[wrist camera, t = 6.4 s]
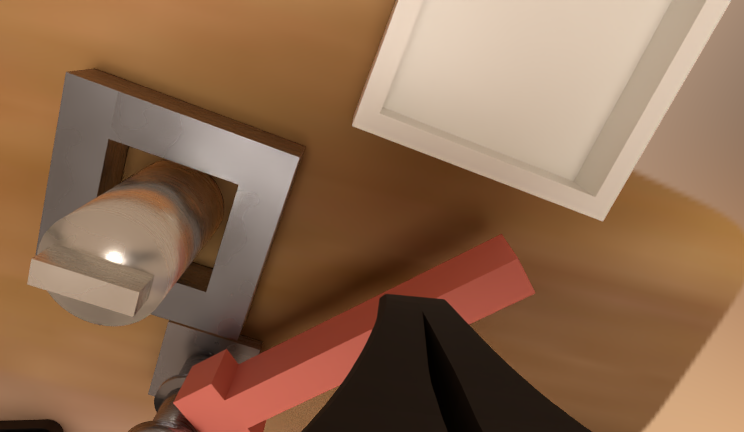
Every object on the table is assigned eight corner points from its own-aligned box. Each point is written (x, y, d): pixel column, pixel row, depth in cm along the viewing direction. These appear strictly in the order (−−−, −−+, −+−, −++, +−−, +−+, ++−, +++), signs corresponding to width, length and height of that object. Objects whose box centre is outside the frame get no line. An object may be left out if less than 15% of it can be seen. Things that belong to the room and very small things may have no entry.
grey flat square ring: (305, 146, 19) (299, 157, 17) (247, 316, 21) (237, 340, 20) (94, 68, 18) (65, 72, 16) (59, 257, 20) (31, 277, 19)
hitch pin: (234, 178, 19) (166, 252, 13) (210, 256, 20) (136, 361, 14) (142, 146, 19) (23, 205, 12) (124, 228, 20) (4, 322, 13)
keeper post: (262, 342, 22) (229, 441, 17) (238, 410, 23) (199, 522, 18) (173, 314, 21) (109, 407, 16) (153, 385, 23) (87, 494, 17)
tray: (710, -48, 17) (766, -61, 14) (574, 199, 20) (602, 221, 17) (458, -169, 16) (473, -205, 13) (354, 114, 18) (351, 125, 16)
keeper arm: (236, 420, 20) (223, 460, 18) (192, 366, 19) (173, 402, 17) (526, 282, 18) (545, 312, 16) (492, 215, 17) (507, 237, 15)
